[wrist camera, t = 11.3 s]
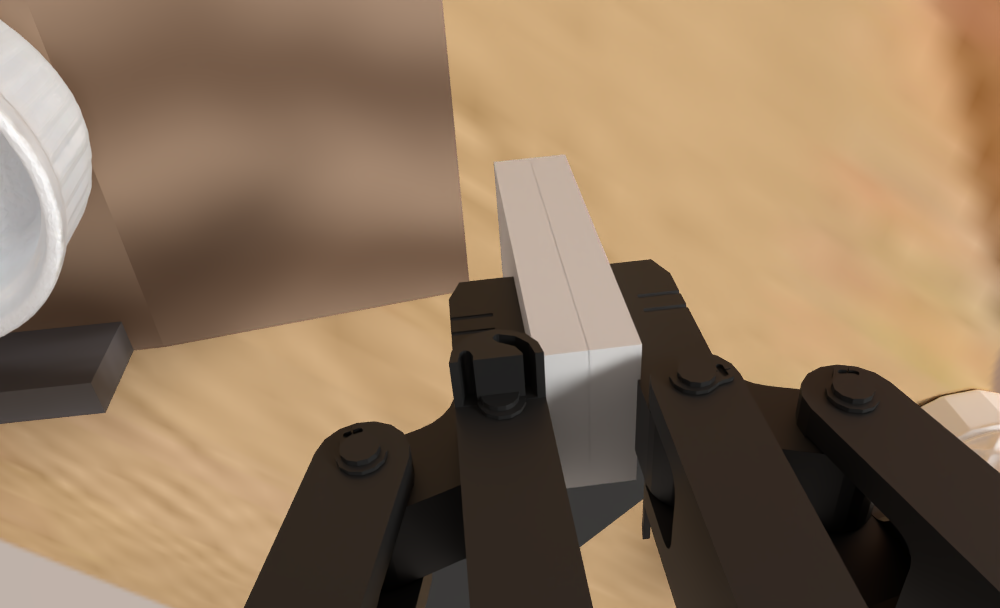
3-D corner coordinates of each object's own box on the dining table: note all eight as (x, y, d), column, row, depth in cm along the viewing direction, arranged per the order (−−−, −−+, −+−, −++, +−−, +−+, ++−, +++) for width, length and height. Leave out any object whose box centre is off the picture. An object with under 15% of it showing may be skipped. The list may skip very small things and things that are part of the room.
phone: (686, 468, 34) (464, 637, 39) (680, 454, 34) (463, 622, 40) (564, 391, 30) (341, 588, 36) (561, 377, 31) (342, 572, 37)
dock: (472, 273, 28) (484, 372, 24) (-163, 336, 27) (-275, 452, 23) (422, -269, 19) (427, -274, 15) (-545, -203, 18) (-861, -187, 14)
